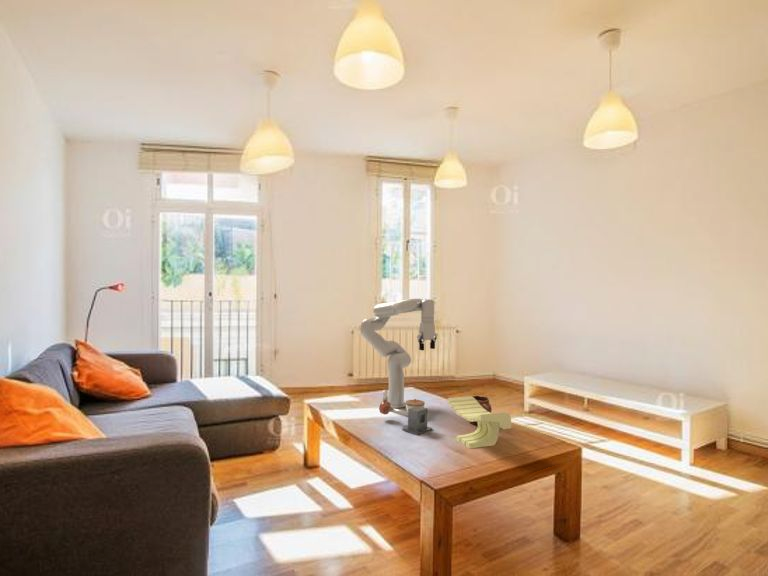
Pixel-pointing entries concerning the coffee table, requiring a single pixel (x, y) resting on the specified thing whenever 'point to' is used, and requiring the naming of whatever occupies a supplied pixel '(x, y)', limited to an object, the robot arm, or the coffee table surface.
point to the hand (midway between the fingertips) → (427, 349)
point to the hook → (389, 406)
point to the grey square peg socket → (417, 421)
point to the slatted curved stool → (479, 422)
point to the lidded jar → (414, 404)
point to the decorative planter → (484, 403)
